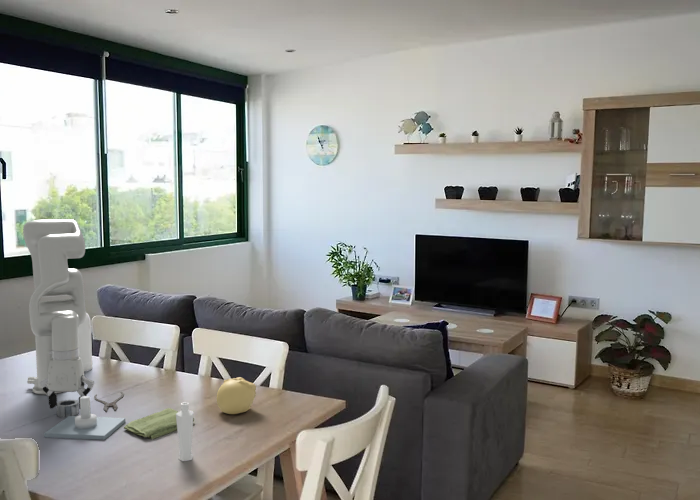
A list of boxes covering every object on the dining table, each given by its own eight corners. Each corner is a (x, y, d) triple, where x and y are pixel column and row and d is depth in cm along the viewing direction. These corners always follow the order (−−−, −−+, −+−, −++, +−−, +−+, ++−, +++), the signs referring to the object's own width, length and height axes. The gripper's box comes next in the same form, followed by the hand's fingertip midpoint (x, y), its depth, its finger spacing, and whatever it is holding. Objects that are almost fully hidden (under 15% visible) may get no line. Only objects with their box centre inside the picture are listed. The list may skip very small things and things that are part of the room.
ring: (52, 417, 204) (52, 406, 204) (63, 410, 211) (63, 399, 210) (72, 417, 204) (72, 406, 204) (82, 410, 210) (82, 400, 210)
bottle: (78, 373, 251) (76, 296, 248) (66, 370, 255) (63, 294, 252) (96, 368, 258) (94, 293, 255) (84, 365, 262) (81, 291, 259)
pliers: (120, 389, 230) (136, 405, 214) (120, 392, 230) (136, 408, 214) (91, 394, 225) (105, 411, 208) (91, 396, 225) (106, 413, 209)
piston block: (44, 437, 188) (42, 404, 187) (69, 419, 202) (67, 389, 201) (104, 439, 187) (103, 406, 186) (125, 421, 201) (124, 391, 200)
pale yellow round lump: (260, 408, 214) (260, 375, 213) (239, 419, 203) (239, 386, 202) (231, 402, 219) (231, 371, 218) (209, 414, 208) (209, 381, 207)
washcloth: (121, 431, 194) (121, 421, 194) (171, 415, 208) (170, 405, 207) (147, 442, 186) (147, 431, 186) (197, 425, 200) (197, 414, 199)
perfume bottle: (178, 454, 177) (177, 400, 175) (194, 454, 177) (193, 400, 176) (175, 462, 172) (174, 406, 171) (192, 461, 172) (191, 406, 171)
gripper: (32, 356, 202) (35, 410, 204) (86, 357, 201) (88, 412, 202) (45, 351, 210) (48, 403, 211) (97, 352, 208) (99, 404, 210)
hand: (68, 407), depth 207 cm, fingers open, 9 cm apart
